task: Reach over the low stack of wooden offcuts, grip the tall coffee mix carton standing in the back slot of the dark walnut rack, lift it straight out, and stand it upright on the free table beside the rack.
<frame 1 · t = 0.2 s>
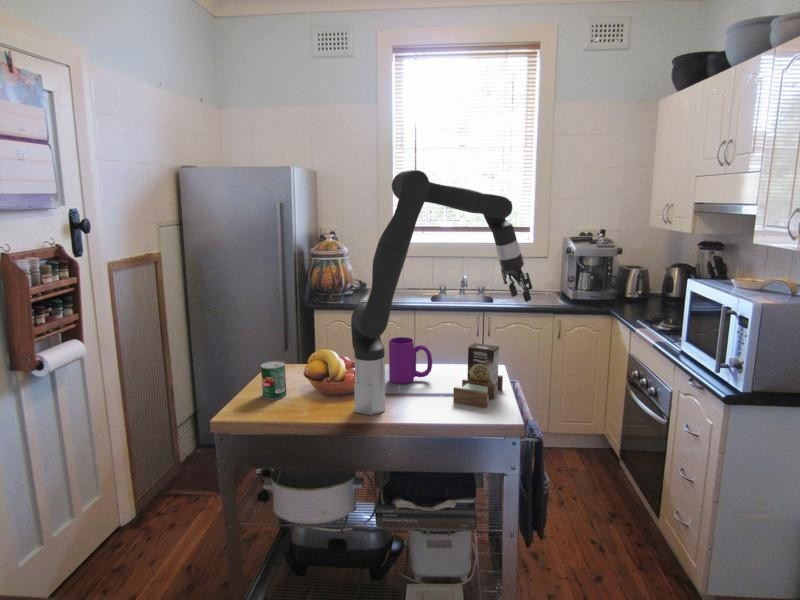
hand: (521, 298, 180), 31 cm above the table, tool tilted 20°, fingers open, 8 cm apart
coffee box: (482, 392, 178), on the table
offcut upper: (474, 394, 170), point 2 cm above the table, touching offcut lower
rack: (478, 395, 175), on the table
offcut lower: (474, 401, 171), on the table, touching offcut upper
mug: (410, 380, 190), on the table
canned tomato: (274, 396, 177), on the table
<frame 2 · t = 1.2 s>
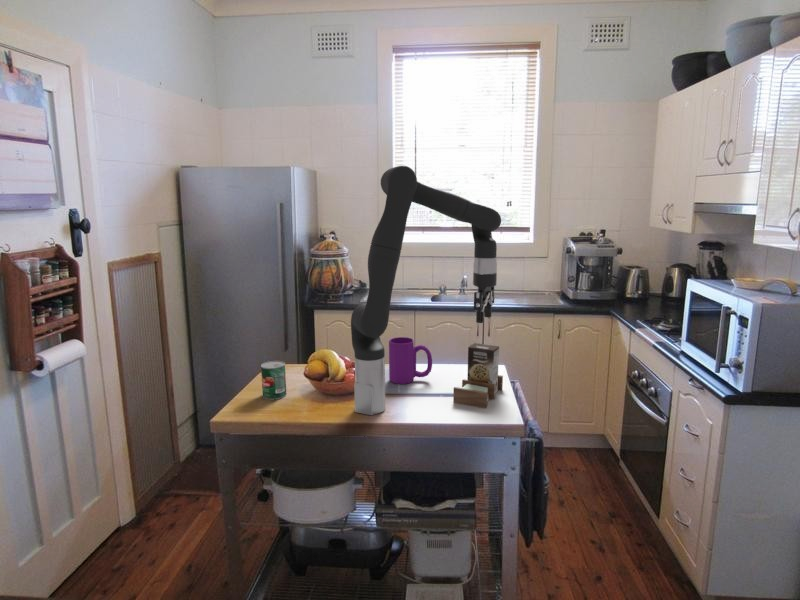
hand: (483, 319, 173), 25 cm above the table, tool pointing down, fingers open, 8 cm apart
offcut upper: (474, 395, 170), point 2 cm above the table
offcut lower: (473, 402, 171), on the table
everything else where it was.
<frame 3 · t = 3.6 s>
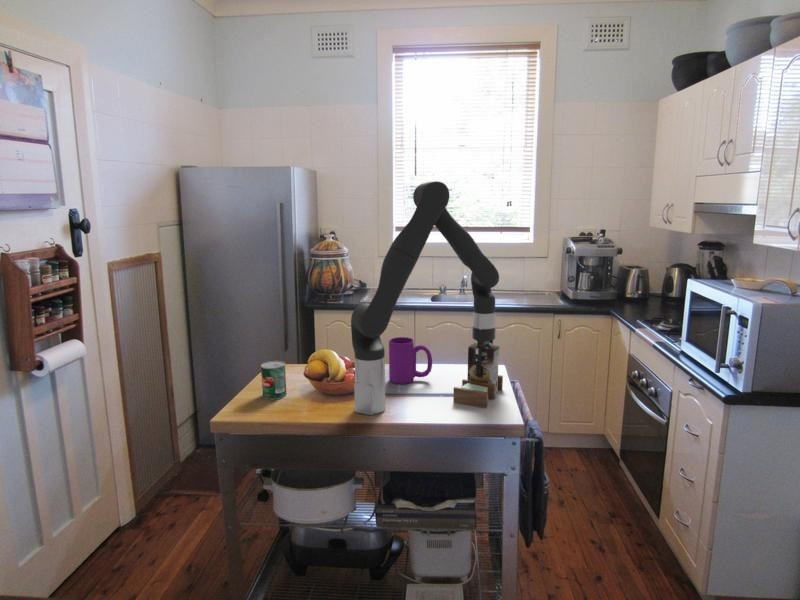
hand: (482, 373, 177), 7 cm above the table, tool pointing down, fingers closed on coffee box, 6 cm apart
coffee box: (482, 392, 178), on the table, touching gripper
offcut upper: (474, 394, 170), point 2 cm above the table, touching offcut lower
offcut lower: (473, 401, 171), on the table, touching offcut upper
everything else where it was.
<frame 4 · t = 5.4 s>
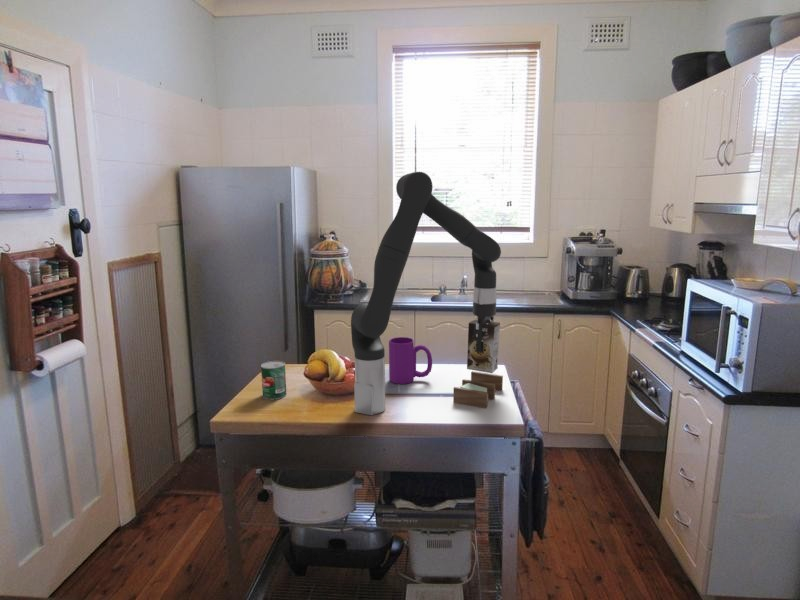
hand: (483, 349, 175), 15 cm above the table, tool pointing down, fingers closed on coffee box, 6 cm apart
coffee box: (482, 369, 177), point 8 cm above the table, touching gripper
everything else where it was.
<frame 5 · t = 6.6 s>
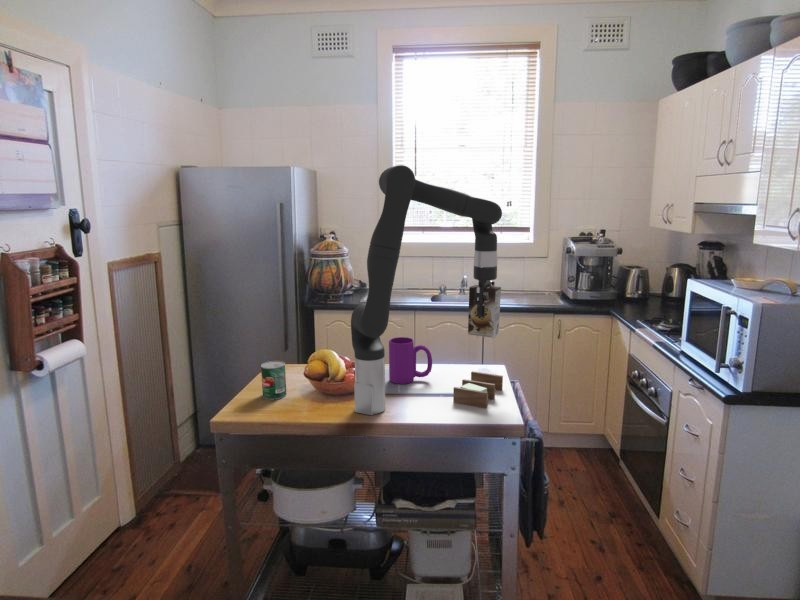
hand: (484, 314, 173), 27 cm above the table, tool pointing down, fingers closed on coffee box, 6 cm apart
coffee box: (483, 335, 174), point 20 cm above the table, touching gripper
everything else where it was.
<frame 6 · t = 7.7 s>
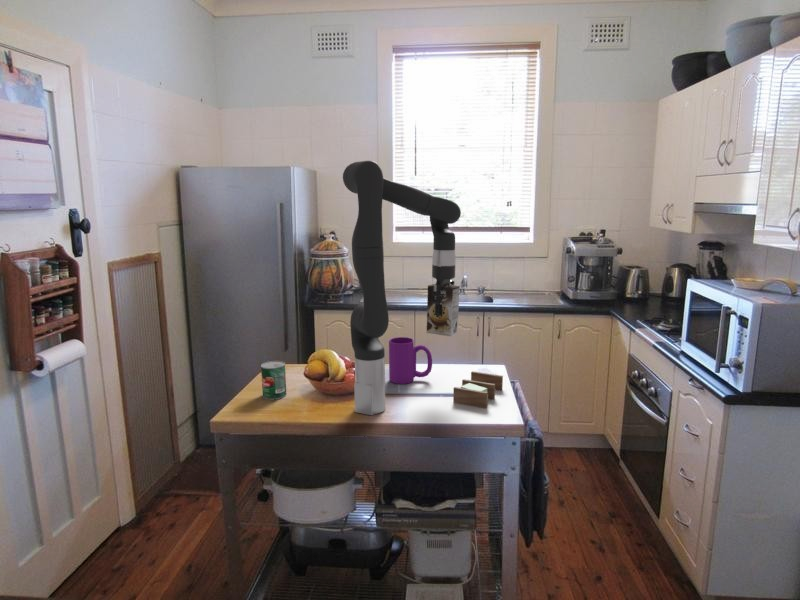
hand: (442, 313, 174), 27 cm above the table, tool pointing down, fingers closed on coffee box, 6 cm apart
coffee box: (442, 333, 175), point 20 cm above the table, touching gripper
everything else where it was.
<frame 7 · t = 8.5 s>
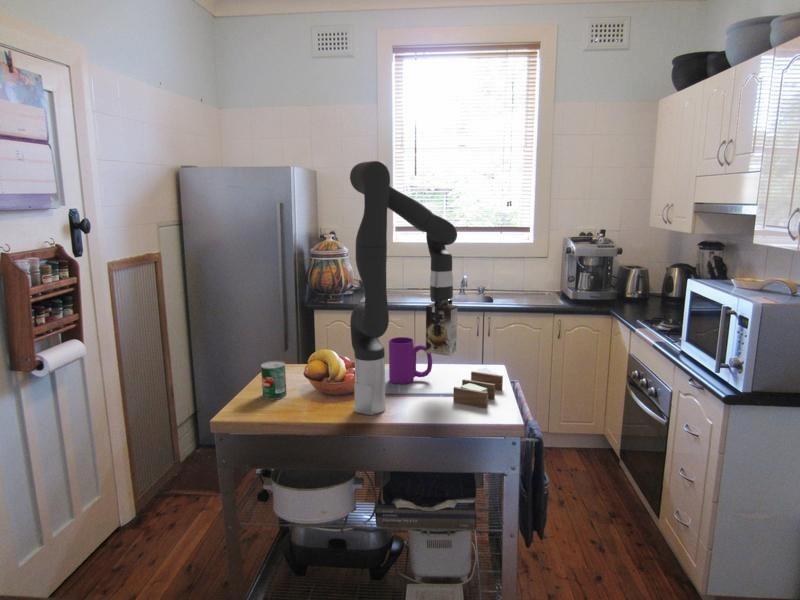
hand: (441, 332, 176), 20 cm above the table, tool pointing down, fingers closed on coffee box, 6 cm apart
coffee box: (441, 352, 177), point 14 cm above the table, touching gripper
offcut upper: (473, 394, 171), point 2 cm above the table
offcut lower: (473, 401, 171), on the table
everything else where it was.
when the fingers open (8 cm above the table, at t = 11.4 s): coffee box drops 1 cm, on the table.
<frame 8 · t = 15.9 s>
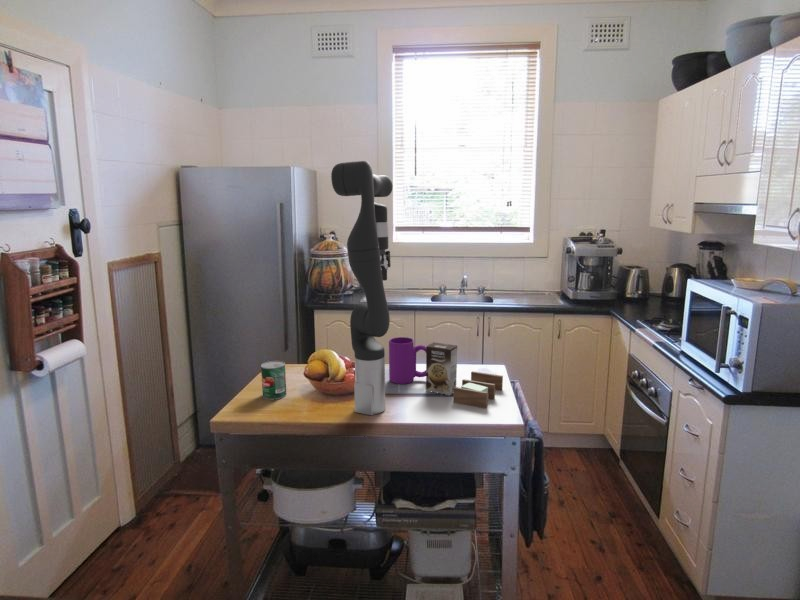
hand: (378, 282, 183), 36 cm above the table, tool pointing down, fingers open, 8 cm apart
coffee box: (441, 391, 180), on the table
offcut lower: (473, 400, 172), on the table, touching rack
everything else where it was.
at the end: coffee box inside the target area (0.0 cm from its centre), on the table; coffee box tilted 0°; offcut upper moved 0.6 cm from its start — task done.
